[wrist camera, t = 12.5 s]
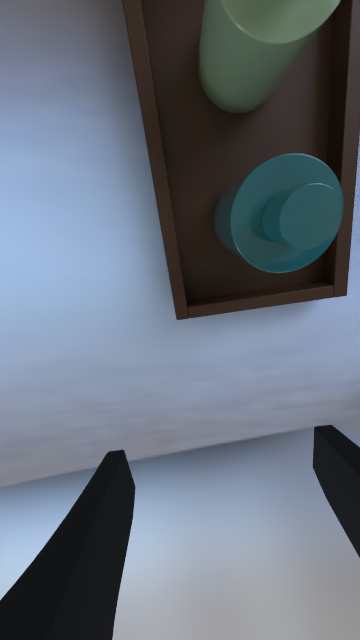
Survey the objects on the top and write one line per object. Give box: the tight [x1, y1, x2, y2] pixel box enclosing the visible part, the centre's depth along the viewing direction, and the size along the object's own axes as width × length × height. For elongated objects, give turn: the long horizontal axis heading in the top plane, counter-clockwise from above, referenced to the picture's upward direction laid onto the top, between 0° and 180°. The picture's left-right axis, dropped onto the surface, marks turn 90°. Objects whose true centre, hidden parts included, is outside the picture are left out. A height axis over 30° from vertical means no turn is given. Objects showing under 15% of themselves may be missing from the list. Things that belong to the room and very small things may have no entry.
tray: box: [122, 0, 360, 320], centre depth 13 cm, size 11×26×2 cm, turn 9°
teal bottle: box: [213, 153, 343, 273], centre depth 12 cm, size 4×4×8 cm
